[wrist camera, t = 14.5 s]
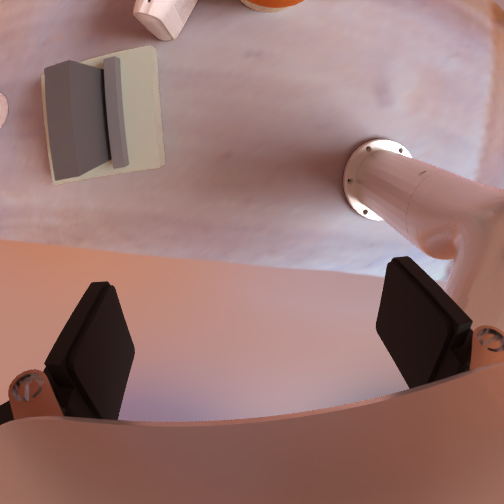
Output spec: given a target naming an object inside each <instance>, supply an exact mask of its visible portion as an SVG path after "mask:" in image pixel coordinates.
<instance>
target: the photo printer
mask: <svg viewBox="0 0 504 504" xmlns="http://www.w3.org/2000/svg"><path fill="white" fill-rule="evenodd" d="M197 1H198V0H136V2H135V5H134V9H133V15H134V16H135V17H136V18H137V19H138V20H139V21H140V22H141V23H142V24H143V25H144V26H145V27H146V29H147V30H148V31H149V32H150V33H152V34H154V35H155V36H156V37H157V38H158V39H160V40H164V41H168V40H172V39H173V40H174V39H176V37H177V36H178V35H179V33H180V32H181V30H182V28H183V26H184V25H185V23H186V21H187V19H188V17H189V16H190V14H191V12H192V10H193V8H194V7H195V5H196V3H197Z"/></svg>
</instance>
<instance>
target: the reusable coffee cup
mask: <svg viewBox="0 0 504 504" xmlns="http://www.w3.org/2000/svg"><path fill="white" fill-rule="evenodd" d="M240 1H241V2H242V3H243V4H245V5H246V6H247V7H249V8H251V9H254V10H256V11H261V12H278V11H282V10H284V9H286V8H288V7H290V6H293V5H296V4H298V3H300V2H302V1H303V0H240Z"/></svg>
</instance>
